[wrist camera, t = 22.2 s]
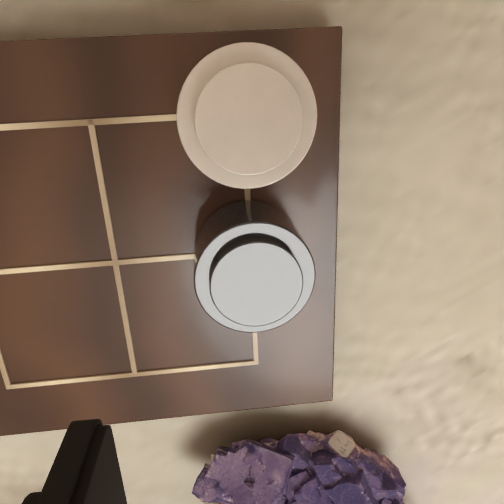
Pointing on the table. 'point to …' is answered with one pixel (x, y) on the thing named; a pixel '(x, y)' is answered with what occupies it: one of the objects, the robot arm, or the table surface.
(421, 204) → the table surface
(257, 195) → the game board
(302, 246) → the lidded canister
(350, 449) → the mineral specimen
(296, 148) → the white stone
